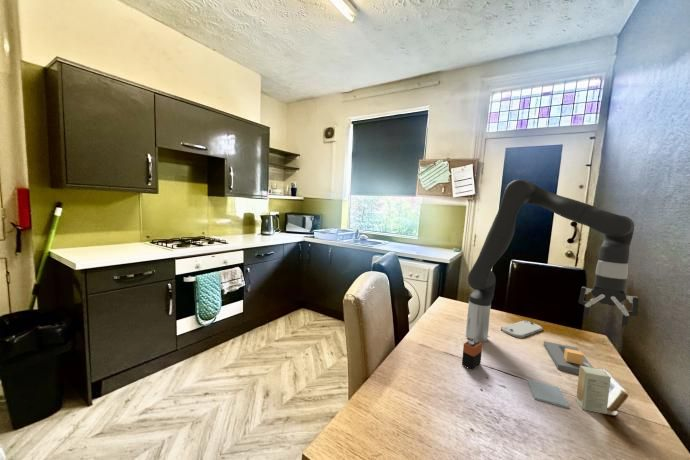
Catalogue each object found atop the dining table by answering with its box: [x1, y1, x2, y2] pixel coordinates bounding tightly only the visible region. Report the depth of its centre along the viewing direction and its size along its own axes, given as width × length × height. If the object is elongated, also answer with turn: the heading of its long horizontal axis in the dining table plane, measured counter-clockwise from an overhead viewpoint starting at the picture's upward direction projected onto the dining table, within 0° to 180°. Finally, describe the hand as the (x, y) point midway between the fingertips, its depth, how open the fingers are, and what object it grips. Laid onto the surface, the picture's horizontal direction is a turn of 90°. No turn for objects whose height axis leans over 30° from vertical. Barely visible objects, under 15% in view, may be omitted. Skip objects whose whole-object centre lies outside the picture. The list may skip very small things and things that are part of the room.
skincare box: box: [575, 366, 611, 415], centre depth 84 cm, size 6×4×12 cm
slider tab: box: [564, 348, 585, 365], centre depth 105 cm, size 3×5×4 cm, turn 66°
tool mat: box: [527, 379, 570, 409], centre depth 89 cm, size 9×10×1 cm
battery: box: [461, 339, 483, 371], centre depth 104 cm, size 4×7×10 cm, turn 128°
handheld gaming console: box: [500, 319, 543, 339], centre depth 136 cm, size 23×3×10 cm
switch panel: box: [542, 340, 594, 375], centre depth 110 cm, size 20×12×2 cm, turn 156°
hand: (604, 321), depth 91 cm, fingers open, 8 cm apart
